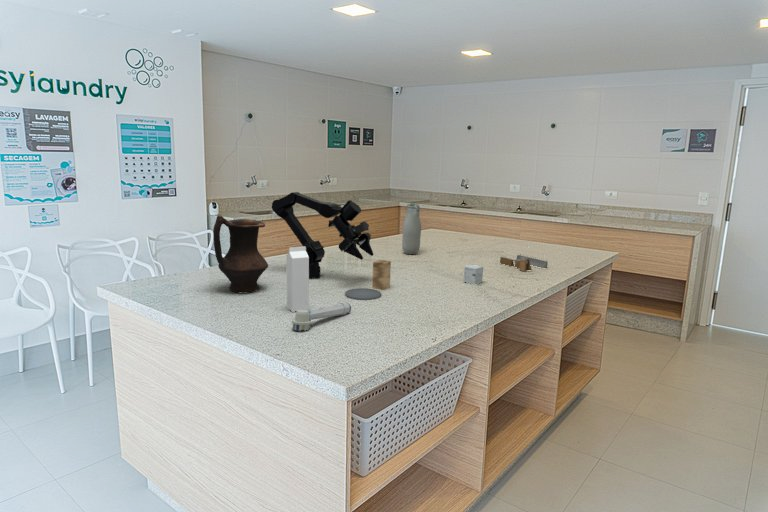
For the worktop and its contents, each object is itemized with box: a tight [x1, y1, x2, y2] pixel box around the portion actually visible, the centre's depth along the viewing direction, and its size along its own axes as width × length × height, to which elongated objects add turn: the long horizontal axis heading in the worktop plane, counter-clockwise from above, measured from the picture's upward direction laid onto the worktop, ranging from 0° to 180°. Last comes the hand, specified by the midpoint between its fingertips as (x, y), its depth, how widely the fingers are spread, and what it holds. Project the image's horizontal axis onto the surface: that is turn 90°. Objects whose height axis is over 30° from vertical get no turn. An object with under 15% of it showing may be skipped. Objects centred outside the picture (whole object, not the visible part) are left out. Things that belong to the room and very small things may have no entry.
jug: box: [212, 214, 269, 293], centre depth 197 cm, size 21×18×30 cm
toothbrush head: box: [291, 302, 352, 332], centre depth 166 cm, size 5×7×25 cm
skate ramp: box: [499, 253, 549, 272], centre depth 256 cm, size 29×35×8 cm
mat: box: [344, 287, 382, 301], centre depth 198 cm, size 14×14×1 cm
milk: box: [285, 246, 310, 313], centre depth 176 cm, size 6×6×22 cm
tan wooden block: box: [371, 259, 392, 291], centre depth 209 cm, size 5×5×11 cm
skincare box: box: [463, 264, 484, 285], centre depth 222 cm, size 6×6×7 cm
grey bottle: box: [401, 202, 422, 255], centre depth 280 cm, size 10×10×28 cm
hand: (367, 257), depth 210 cm, fingers open, 9 cm apart
